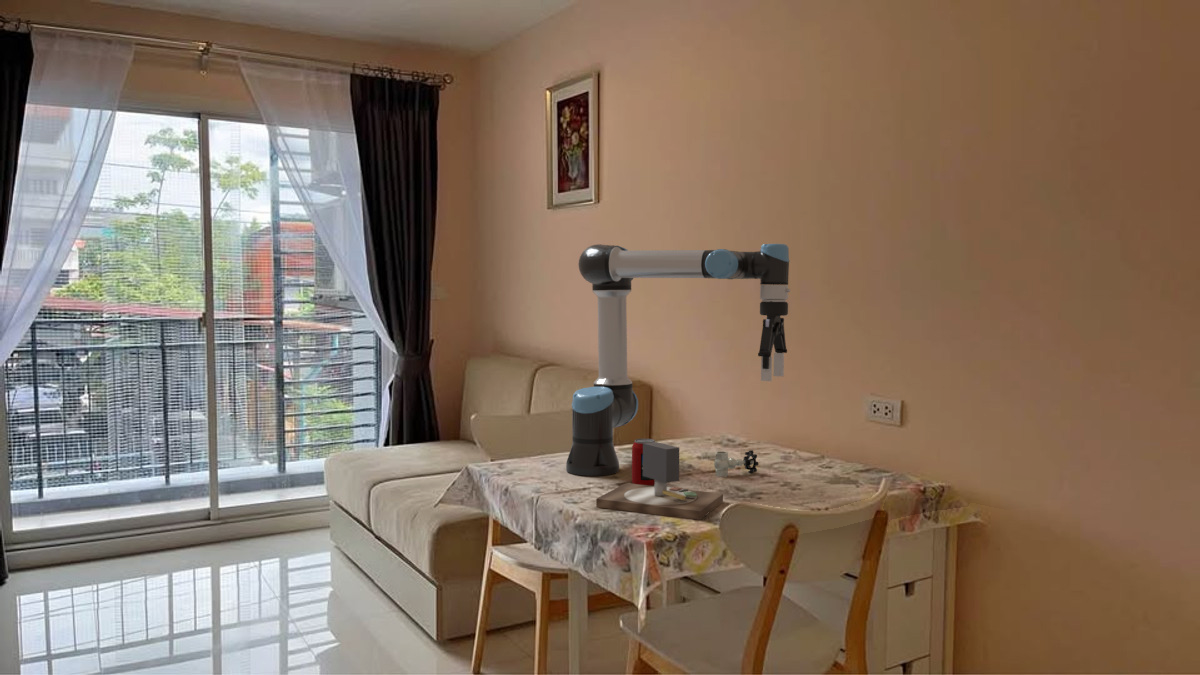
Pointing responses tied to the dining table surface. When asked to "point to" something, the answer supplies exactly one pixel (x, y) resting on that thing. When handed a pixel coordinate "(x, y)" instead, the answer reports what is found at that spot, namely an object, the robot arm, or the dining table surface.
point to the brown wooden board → (660, 501)
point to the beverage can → (639, 463)
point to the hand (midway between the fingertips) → (772, 378)
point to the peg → (661, 466)
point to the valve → (734, 463)
